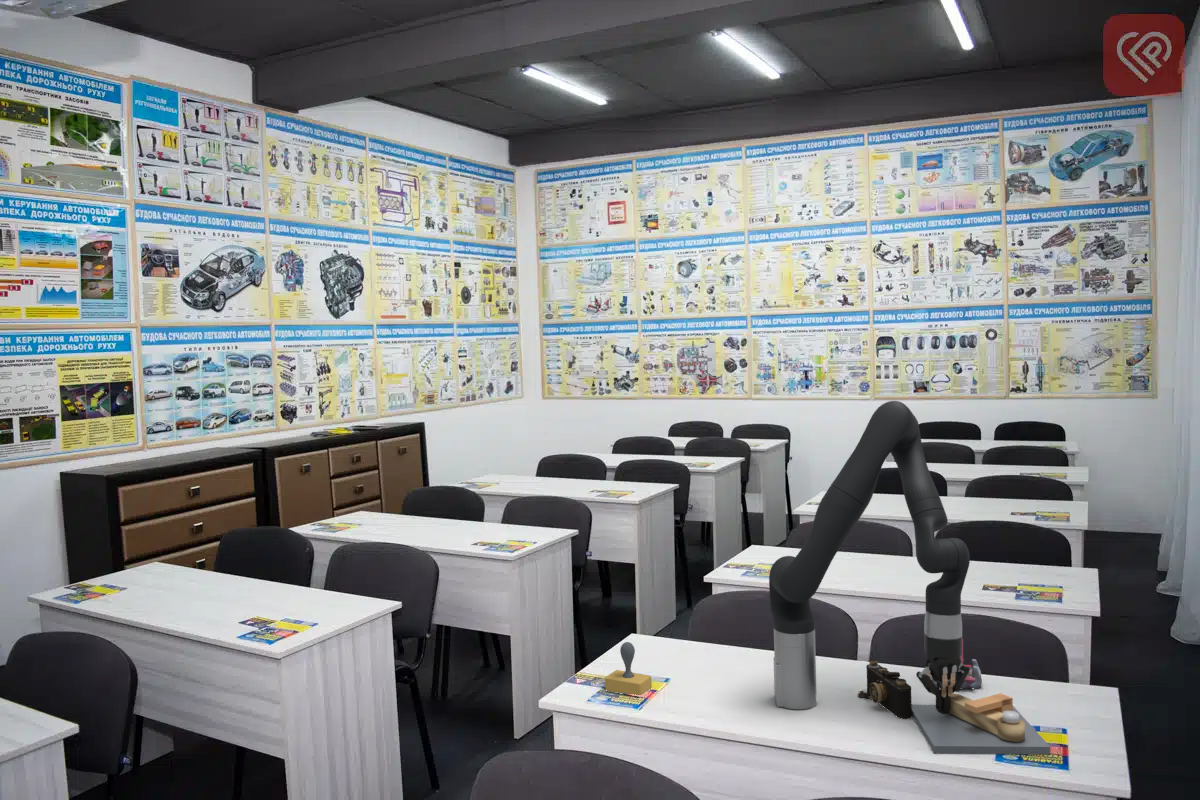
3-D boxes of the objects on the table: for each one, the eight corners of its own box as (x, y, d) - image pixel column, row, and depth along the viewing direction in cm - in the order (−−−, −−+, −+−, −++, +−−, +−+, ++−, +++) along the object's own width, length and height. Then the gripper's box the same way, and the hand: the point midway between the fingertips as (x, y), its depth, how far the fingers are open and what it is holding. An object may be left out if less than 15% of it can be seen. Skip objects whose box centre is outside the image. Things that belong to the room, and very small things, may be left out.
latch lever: (1030, 738, 180) (1030, 723, 180) (1012, 743, 178) (1011, 728, 178) (956, 705, 198) (956, 691, 198) (938, 709, 196) (938, 695, 196)
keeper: (1001, 718, 191) (1000, 693, 191) (1013, 723, 188) (1012, 697, 188) (965, 728, 187) (964, 702, 186) (976, 734, 184) (976, 707, 184)
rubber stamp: (652, 690, 218) (650, 641, 218) (641, 698, 213) (639, 648, 213) (616, 684, 223) (614, 636, 223) (604, 692, 218) (603, 643, 218)
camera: (853, 694, 211) (852, 660, 211) (879, 691, 213) (878, 657, 212) (888, 722, 195) (887, 685, 195) (916, 718, 196) (916, 682, 196)
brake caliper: (994, 685, 207) (959, 641, 209) (953, 709, 211) (919, 666, 213) (991, 668, 218) (958, 627, 220) (953, 692, 221) (920, 651, 223)
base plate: (934, 753, 179) (933, 721, 179) (908, 711, 200) (908, 682, 200) (1050, 754, 177) (1050, 721, 177) (1012, 711, 198) (1012, 682, 198)
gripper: (954, 623, 198) (954, 701, 199) (906, 631, 193) (906, 711, 194) (980, 633, 191) (980, 713, 192) (931, 641, 186) (931, 724, 187)
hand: (943, 712), depth 193 cm, fingers closed
